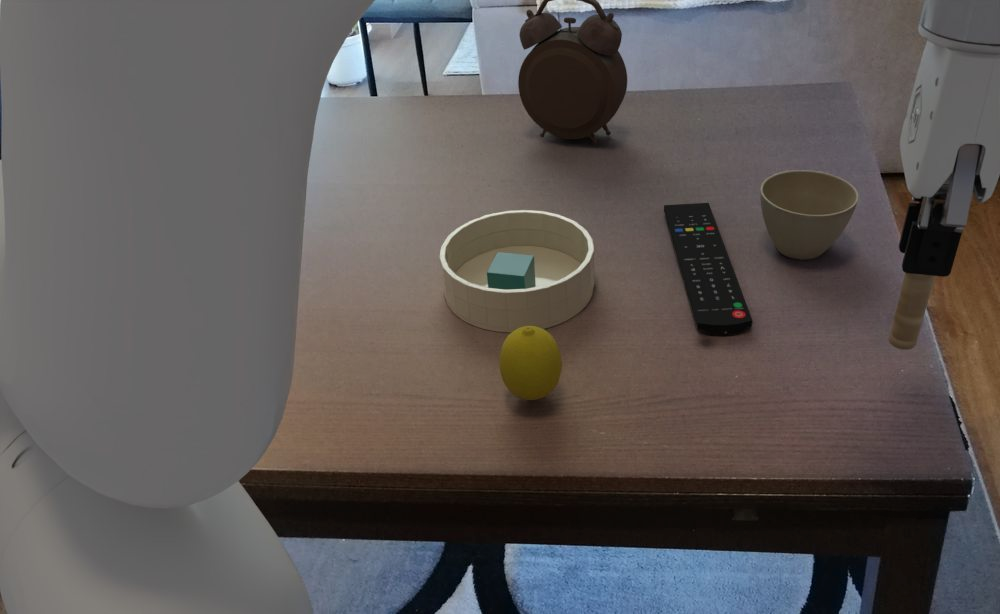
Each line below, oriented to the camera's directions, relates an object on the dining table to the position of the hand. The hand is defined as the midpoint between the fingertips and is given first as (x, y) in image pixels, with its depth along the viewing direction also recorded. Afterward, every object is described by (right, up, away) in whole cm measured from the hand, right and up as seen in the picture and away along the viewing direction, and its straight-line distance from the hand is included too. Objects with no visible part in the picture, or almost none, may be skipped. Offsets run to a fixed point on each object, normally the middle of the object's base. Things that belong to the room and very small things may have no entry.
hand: (923, 261), depth 64 cm
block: (-30, -2, +28) cm, 41 cm away
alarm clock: (-21, +21, +60) cm, 67 cm away
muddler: (0, -6, +4) cm, 8 cm away
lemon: (-28, -12, +16) cm, 34 cm away
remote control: (-9, +1, +31) cm, 32 cm away
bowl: (-29, -1, +31) cm, 42 cm away
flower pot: (+2, +3, +33) cm, 33 cm away
